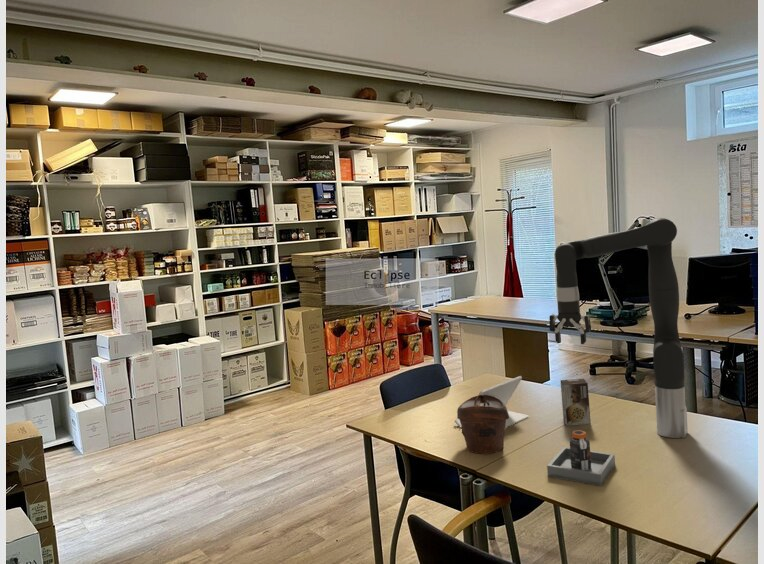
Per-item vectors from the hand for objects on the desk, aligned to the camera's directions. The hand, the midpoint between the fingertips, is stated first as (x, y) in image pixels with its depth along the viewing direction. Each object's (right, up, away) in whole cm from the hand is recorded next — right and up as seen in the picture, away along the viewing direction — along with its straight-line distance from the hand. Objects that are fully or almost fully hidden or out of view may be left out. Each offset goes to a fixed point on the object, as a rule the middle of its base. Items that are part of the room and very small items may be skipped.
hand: (570, 343), depth 208 cm
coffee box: (+6, -32, +13) cm, 35 cm away
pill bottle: (-6, -36, -28) cm, 46 cm away
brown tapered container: (-32, -37, -2) cm, 49 cm away
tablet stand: (-24, -34, +22) cm, 47 cm away
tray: (-6, -37, -28) cm, 47 cm away
